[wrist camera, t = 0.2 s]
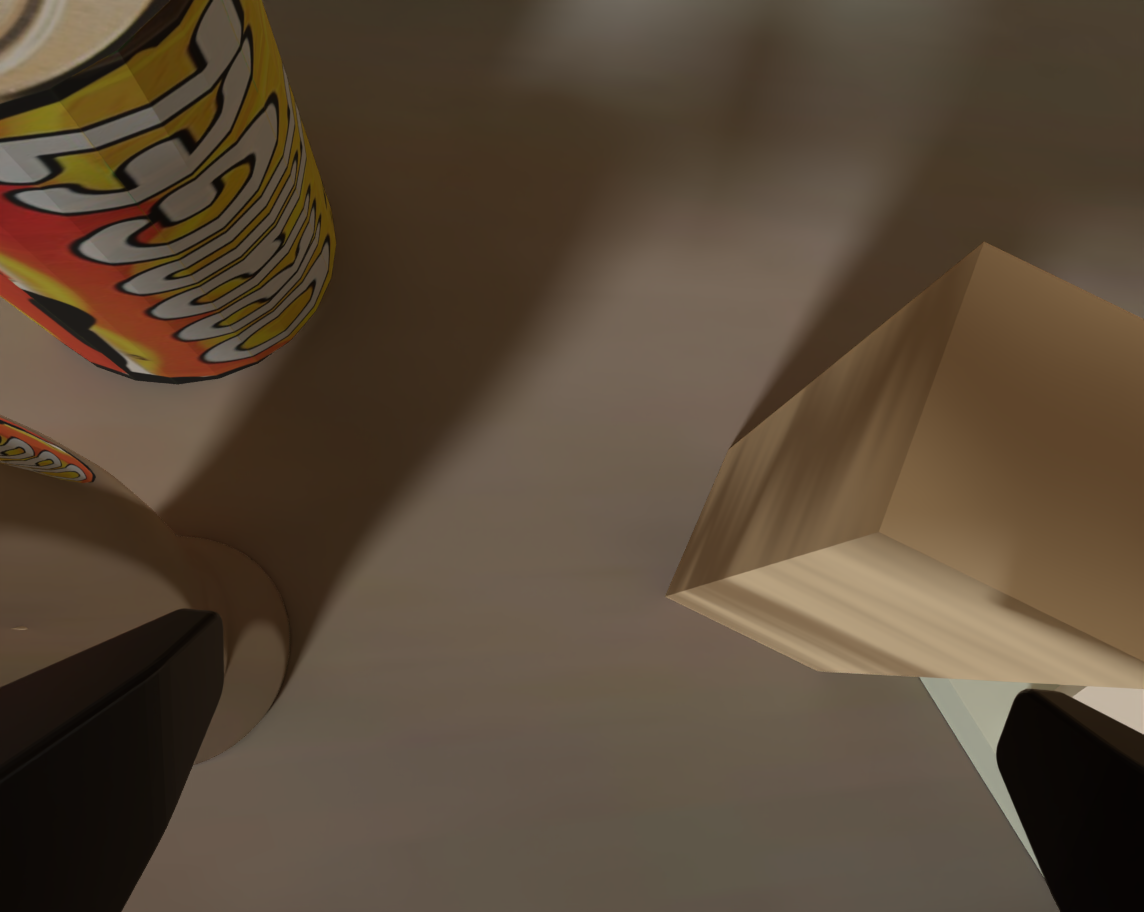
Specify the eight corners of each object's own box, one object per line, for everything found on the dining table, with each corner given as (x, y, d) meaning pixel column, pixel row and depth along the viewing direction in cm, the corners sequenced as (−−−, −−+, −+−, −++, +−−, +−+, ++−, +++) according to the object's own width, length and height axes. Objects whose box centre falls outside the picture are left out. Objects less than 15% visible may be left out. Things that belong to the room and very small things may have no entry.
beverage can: (-23, 346, 23) (-530, 34, 11) (86, 86, 25) (-245, -393, 14) (290, 413, 24) (107, 183, 12) (368, 153, 26) (279, -252, 14)
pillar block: (817, 671, 23) (1207, 692, 11) (664, 596, 24) (878, 532, 11) (873, 520, 25) (1277, 384, 12) (728, 449, 25) (983, 241, 12)
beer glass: (291, 501, 23) (-31, 242, 8) (325, 753, 21) (6, 960, 7) (28, 548, 22) (-857, 341, 7) (46, 816, 20) (-1021, 1218, 6)
